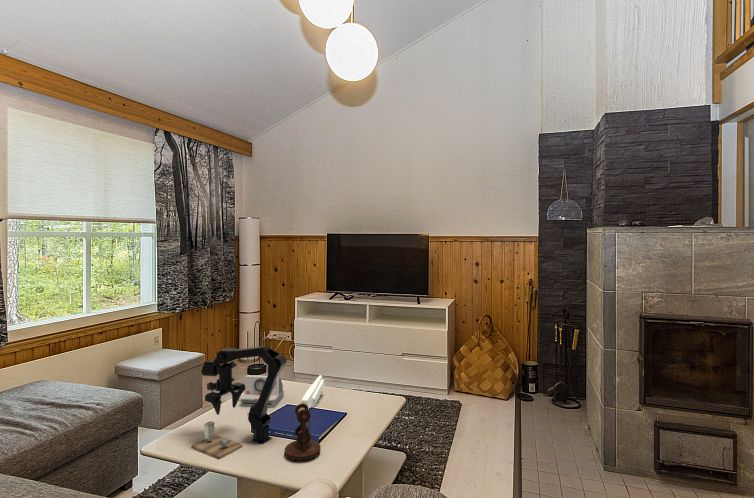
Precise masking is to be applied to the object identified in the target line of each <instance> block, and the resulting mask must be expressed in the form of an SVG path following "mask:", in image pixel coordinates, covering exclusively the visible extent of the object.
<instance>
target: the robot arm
mask: <svg viewBox="0 0 754 498" xmlns="http://www.w3.org/2000/svg"><path fill="white" fill-rule="evenodd" d="M254 357H260V358H261V359H262V361H263V362H264V364H266V365H267V375H268V376H267V379H266V381H265V384H264V386H263V389H262V392H261V394H260V397H259V399H258V402H256V403H255V404H254V405H252V406H251V407H249V412H248V413H247V416H248V417H247V420H248V422H249V423H250V426H251V429H252V431H253V438H251V442H254V443H257V444H259V445H263V444H264V443H266V442H269V441H270V440H272V436H270V425H269V424H271V421H272V417H271V416H270V415H269V414H268V413H267V412H268V408H267V403H268V400H269V398H270V395H271V393H272V390H273V388H274V385H275V382H276V380H277V377H278V376H280V374H281V373H282V371H283V370H284V368H285V367H286V365H287V362H288V360H287V358H286V356H285V355H283V354H280V353H279V352H278V351H276V350H274V349H273V348H270V347H269V346H268V345H265V344H264V345H261V346H253V347H245V348H235V347H226V348H223V349H221V350H219V351H218V352H217V354H216V357H215V359H214V360H205V361H203V365H202V367H201V370H200V371H201V375H202V376H203V377H217V376H218V379H216V382H214V383H213V382H212V381H211V382H207V383H206V390H207V391H210V392H209V393H207V394H205V395H204V402H205V401H206V402H208V403H211V404H212V406H213V408H214V412H215V414H216V416H217V415H220V411H221V406H222V400H221V399H222V396H225V395H228V394H229V393H231V397H232V398H231V401H232V408H234V409H235V408H236V407H237V404H238V402H239V400H240V399H241V397H242V394H244V390H245V385H244V383H241V382H234V383H233V381H235V378H234V377H233V368H236V367H237V366H238V364H237V363H235V362H234V360H238V359H246V358H254ZM214 391H215V392H214Z"/></svg>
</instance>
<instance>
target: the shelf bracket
mask: <svg viewBox="0 0 754 498" xmlns="http://www.w3.org/2000/svg"><path fill="white" fill-rule="evenodd" d="M324 388H325V379H323V375H320V374H319V376H317V378H316V379H315V380H314V382H313V383H312V384H311V385H310V387H309V388H308V389H307V391H306V392H305V394H304V395H303V396H302V398H301V404H302V403H303V404H306V405H307V406H308V409H309V408H310V409H311V408H314V407H316V404H317V402H318V401H319V399H320V397H321V396H324Z"/></svg>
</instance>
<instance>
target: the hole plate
mask: <svg viewBox="0 0 754 498" xmlns="http://www.w3.org/2000/svg"><path fill="white" fill-rule="evenodd" d="M243 445H244V444H242V443H240V442H237V441H234V440H232V439H230V438H229V437H224V436H221V435H219V434H214V438H211V441H210V442H208V440H207V439H205V438H204V439H202V440H200V441H197V442H195V443H193V444H192V445H190V446H191V449H192V448H193V450H195V451H198V452H200V453H203V454H205V455H208V456H210V457H213V458H214V459H215V458H216V459H218V460H221V459H222V458H225V457H227V456H228V455H230V454H233V453H234V452H236V451H238V450H240V449H241V448H243V447H244V446H243Z"/></svg>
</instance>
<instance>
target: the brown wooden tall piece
mask: <svg viewBox="0 0 754 498" xmlns="http://www.w3.org/2000/svg"><path fill="white" fill-rule="evenodd" d="M308 410H309V409H308V406H307V405H306V404H303V403H302V402H301V403H299V404H297V405H296V406H295V409H294V412H295V415H296V420H297V422H298V423H299V425H298V426H297V427H296V428H295V430H294V434H295V437H296V440H293V441H292V442H290V443H288V444H286V445H285V448H284V454H285V456H286V457H287V458H289V459H290V461H291V462H294V460H307V459H311V458H315V459H317V457H318V455H319V454H320V452H321V444H320V443H319V442H318V441H315V440H313V439H312V431H311V430H312V429H311V423H310V422H311V421H310V420H311V417H312V416H311V412H310V410H309V411H308Z"/></svg>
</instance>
